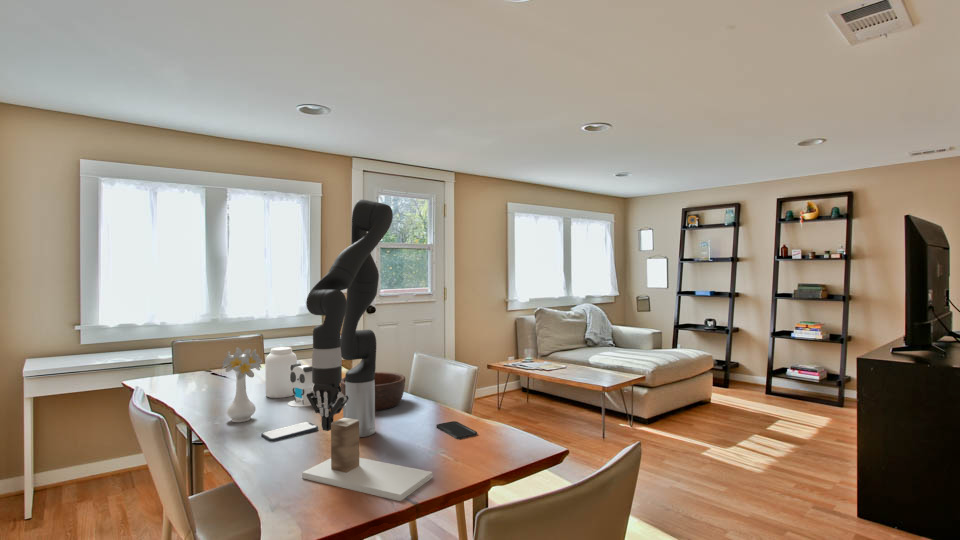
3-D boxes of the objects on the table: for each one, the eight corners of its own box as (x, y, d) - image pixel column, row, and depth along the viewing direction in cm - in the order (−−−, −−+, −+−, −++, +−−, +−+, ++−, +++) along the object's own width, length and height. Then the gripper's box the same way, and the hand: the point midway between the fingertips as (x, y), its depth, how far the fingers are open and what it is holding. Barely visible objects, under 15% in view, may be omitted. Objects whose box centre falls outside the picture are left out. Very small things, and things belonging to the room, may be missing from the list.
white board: (302, 478, 127) (302, 472, 127) (339, 459, 140) (339, 453, 140) (400, 501, 114) (400, 494, 114) (432, 477, 127) (432, 472, 127)
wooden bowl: (345, 417, 180) (345, 388, 180) (336, 400, 203) (336, 375, 203) (413, 408, 190) (412, 381, 190) (396, 393, 213) (396, 369, 213)
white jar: (302, 394, 212) (302, 347, 212) (273, 400, 203) (273, 351, 203) (289, 389, 221) (288, 344, 221) (260, 395, 212) (260, 347, 212)
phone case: (271, 444, 154) (319, 431, 165) (270, 439, 154) (319, 426, 165) (259, 438, 160) (307, 425, 171) (259, 432, 160) (307, 420, 171)
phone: (455, 420, 172) (478, 432, 159) (455, 424, 172) (478, 436, 159) (434, 424, 168) (457, 437, 155) (434, 428, 168) (457, 440, 155)
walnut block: (331, 469, 129) (330, 422, 129) (344, 462, 133) (344, 417, 133) (346, 472, 127) (346, 425, 126) (359, 465, 131) (359, 419, 131)
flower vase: (232, 430, 165) (232, 354, 165) (214, 418, 178) (214, 348, 178) (272, 421, 174) (271, 350, 174) (252, 411, 188) (251, 344, 188)
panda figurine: (281, 403, 199) (281, 365, 199) (307, 397, 207) (307, 361, 207) (297, 408, 191) (297, 369, 191) (323, 402, 199) (323, 364, 199)
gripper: (356, 363, 133) (356, 429, 133) (318, 360, 139) (318, 422, 139) (336, 369, 126) (337, 437, 126) (297, 365, 132) (298, 430, 132)
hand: (327, 429), depth 132 cm, fingers closed
